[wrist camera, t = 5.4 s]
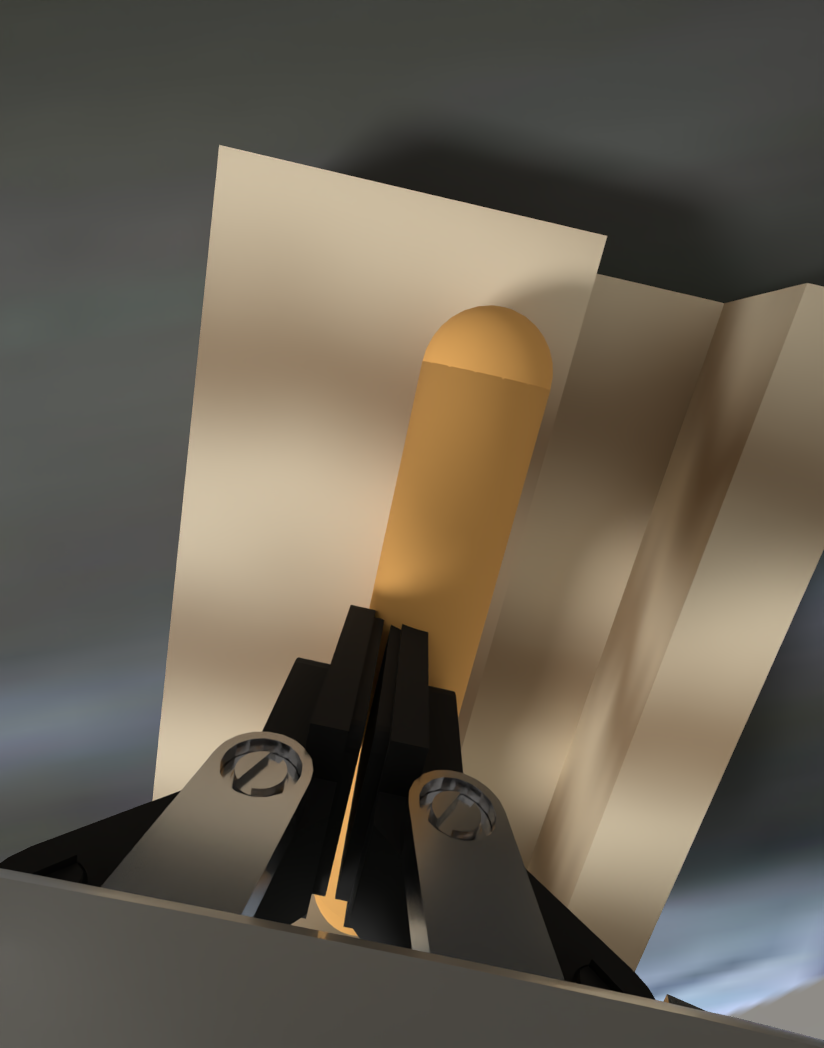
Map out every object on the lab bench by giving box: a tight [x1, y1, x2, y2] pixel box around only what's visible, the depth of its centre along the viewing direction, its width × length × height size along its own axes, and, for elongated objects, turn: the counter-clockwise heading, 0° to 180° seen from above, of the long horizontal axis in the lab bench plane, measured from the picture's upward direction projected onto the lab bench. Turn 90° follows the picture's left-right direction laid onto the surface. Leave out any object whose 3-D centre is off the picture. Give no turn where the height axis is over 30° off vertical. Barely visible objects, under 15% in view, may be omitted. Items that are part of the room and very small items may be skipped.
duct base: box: [153, 145, 824, 972], centre depth 15 cm, size 20×14×4 cm
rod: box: [314, 305, 553, 936], centre depth 11 cm, size 14×2×2 cm
